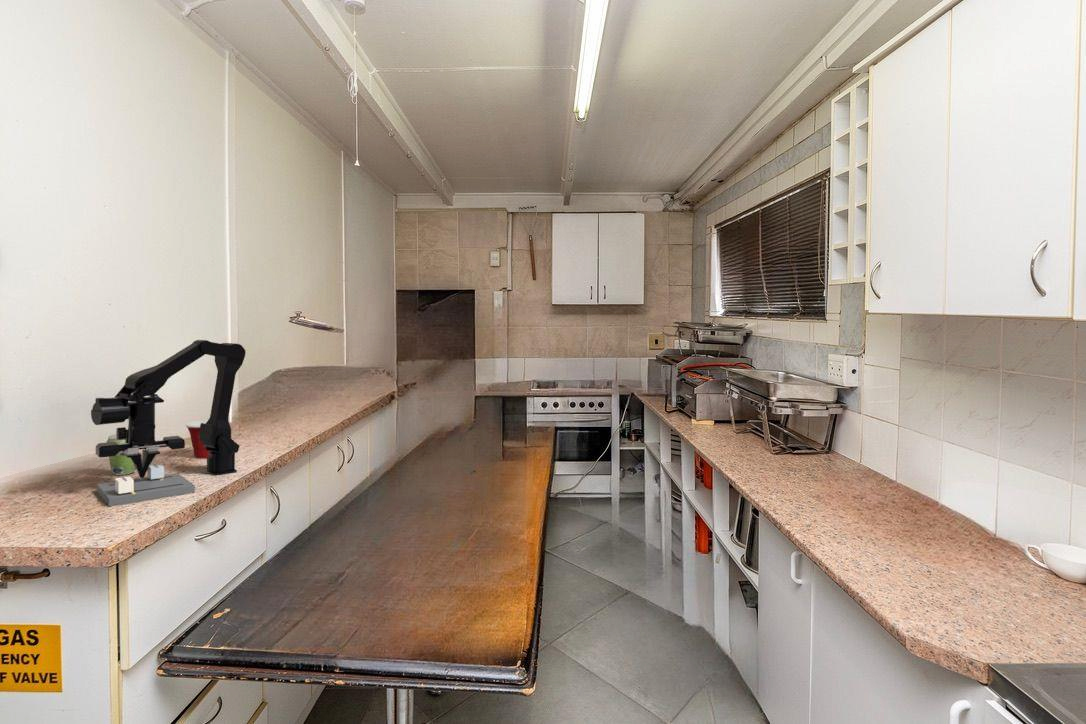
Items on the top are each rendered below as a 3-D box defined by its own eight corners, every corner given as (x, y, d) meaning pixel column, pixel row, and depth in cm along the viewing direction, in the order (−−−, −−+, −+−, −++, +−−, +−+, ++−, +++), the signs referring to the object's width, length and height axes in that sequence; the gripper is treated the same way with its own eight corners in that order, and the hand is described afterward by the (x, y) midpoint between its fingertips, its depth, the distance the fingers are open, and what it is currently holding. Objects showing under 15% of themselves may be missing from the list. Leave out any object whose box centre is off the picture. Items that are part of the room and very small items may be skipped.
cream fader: (129, 488, 137) (130, 476, 137) (133, 491, 134) (133, 479, 134) (115, 490, 135) (115, 478, 135) (118, 493, 132) (118, 481, 132)
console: (177, 479, 154) (177, 472, 154) (194, 492, 144) (194, 484, 144) (97, 491, 141) (97, 483, 141) (109, 506, 130) (109, 498, 130)
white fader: (160, 474, 150) (160, 463, 150) (164, 477, 148) (164, 466, 147) (147, 476, 148) (147, 465, 148) (150, 479, 145) (151, 468, 145)
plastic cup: (177, 457, 179) (177, 422, 179) (208, 451, 189) (208, 418, 189) (199, 462, 175) (200, 425, 174) (230, 455, 185) (230, 421, 185)
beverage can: (142, 471, 161) (142, 432, 160) (120, 478, 154) (121, 436, 153) (123, 470, 162) (123, 430, 161) (100, 476, 154) (100, 435, 154)
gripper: (174, 413, 157) (174, 466, 158) (91, 419, 143) (91, 477, 144) (185, 418, 150) (185, 474, 150) (99, 425, 136) (99, 486, 137)
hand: (141, 477), depth 146 cm, fingers closed
